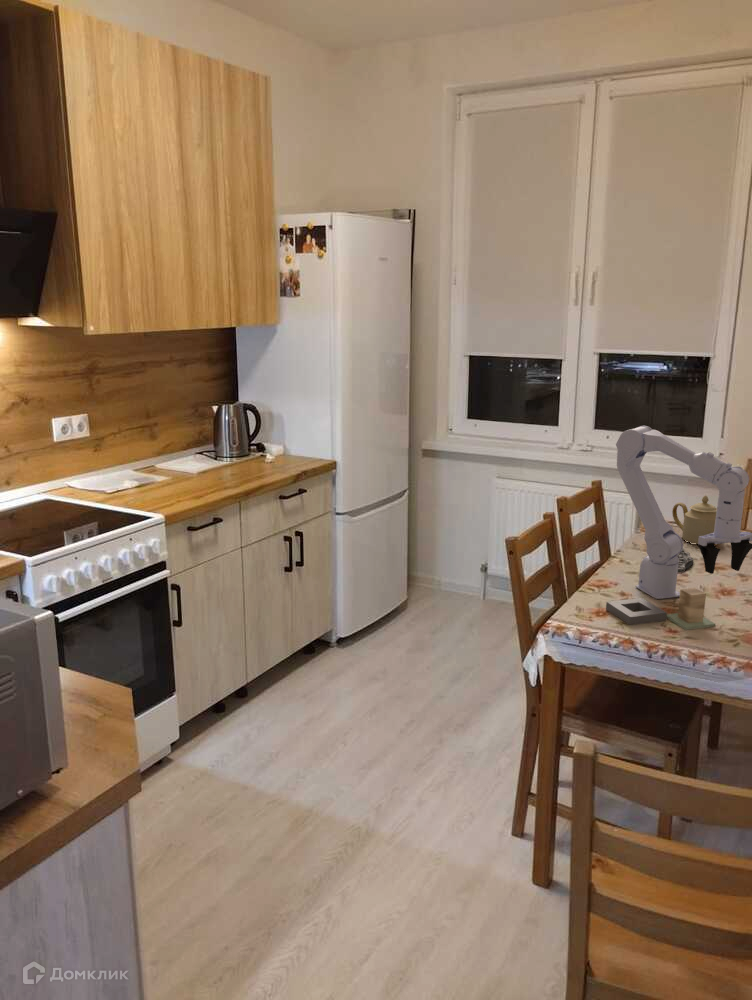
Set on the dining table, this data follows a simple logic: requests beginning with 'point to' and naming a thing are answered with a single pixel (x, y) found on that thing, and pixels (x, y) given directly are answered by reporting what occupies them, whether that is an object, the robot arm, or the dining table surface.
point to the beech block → (691, 605)
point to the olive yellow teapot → (696, 520)
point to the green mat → (688, 626)
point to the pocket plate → (643, 616)
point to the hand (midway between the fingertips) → (722, 570)
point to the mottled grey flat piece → (684, 561)
